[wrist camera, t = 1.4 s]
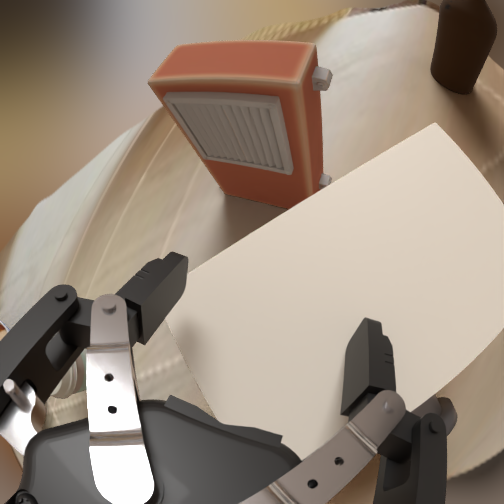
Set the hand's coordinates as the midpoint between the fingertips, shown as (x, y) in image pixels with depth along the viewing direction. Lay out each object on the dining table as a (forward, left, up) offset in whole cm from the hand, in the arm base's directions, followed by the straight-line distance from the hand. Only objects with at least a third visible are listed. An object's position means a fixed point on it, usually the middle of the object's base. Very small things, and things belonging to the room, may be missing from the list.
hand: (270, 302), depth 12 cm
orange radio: (0, -17, -22) cm, 28 cm away
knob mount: (-5, +1, -21) cm, 22 cm away
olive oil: (-40, -34, -22) cm, 57 cm away
